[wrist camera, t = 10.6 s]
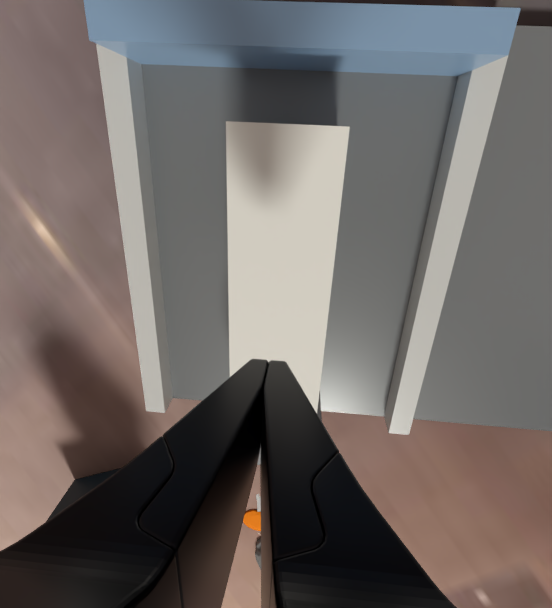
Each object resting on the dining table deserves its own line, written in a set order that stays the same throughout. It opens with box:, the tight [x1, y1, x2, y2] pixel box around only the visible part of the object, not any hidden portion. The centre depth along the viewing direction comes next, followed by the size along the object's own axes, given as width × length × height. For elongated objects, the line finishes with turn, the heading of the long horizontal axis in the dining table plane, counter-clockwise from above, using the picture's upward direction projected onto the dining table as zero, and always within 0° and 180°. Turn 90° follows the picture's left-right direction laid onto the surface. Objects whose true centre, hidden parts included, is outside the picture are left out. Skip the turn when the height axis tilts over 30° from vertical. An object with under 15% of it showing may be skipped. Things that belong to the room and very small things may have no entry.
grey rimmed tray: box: [84, 0, 552, 435], centre depth 14 cm, size 17×26×4 cm, turn 87°
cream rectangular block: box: [226, 121, 350, 465], centre depth 15 cm, size 13×4×4 cm, turn 178°
